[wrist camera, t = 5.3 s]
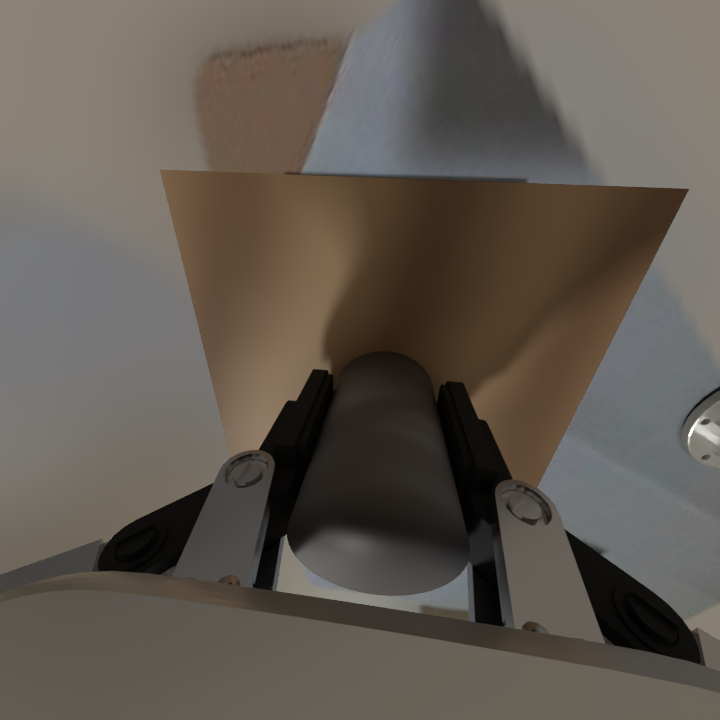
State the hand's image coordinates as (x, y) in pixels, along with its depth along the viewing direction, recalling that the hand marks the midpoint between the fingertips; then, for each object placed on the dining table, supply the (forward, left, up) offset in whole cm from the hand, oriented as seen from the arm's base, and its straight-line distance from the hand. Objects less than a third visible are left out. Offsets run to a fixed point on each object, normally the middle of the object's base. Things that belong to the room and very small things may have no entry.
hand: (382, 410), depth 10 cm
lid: (0, 0, -2) cm, 2 cm away
